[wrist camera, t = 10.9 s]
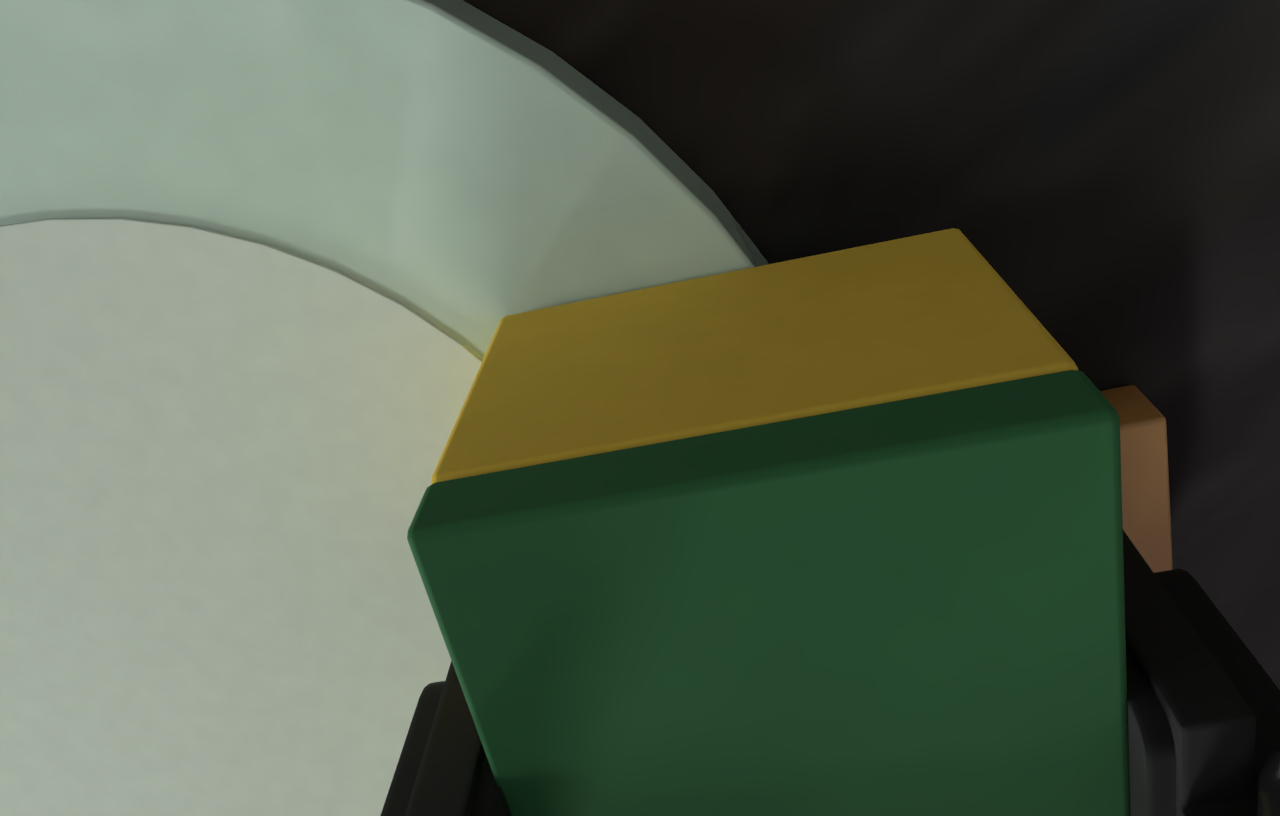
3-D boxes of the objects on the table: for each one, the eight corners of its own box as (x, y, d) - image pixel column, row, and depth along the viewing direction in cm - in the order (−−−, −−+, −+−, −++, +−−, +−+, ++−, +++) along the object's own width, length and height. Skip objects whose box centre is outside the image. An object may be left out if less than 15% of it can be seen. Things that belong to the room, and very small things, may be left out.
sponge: (499, 314, 12) (400, 534, 7) (959, 223, 11) (1124, 411, 7) (650, 835, 15) (639, 1183, 11) (1011, 788, 14) (1142, 1139, 10)
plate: (-758, 109, 12) (-904, 129, 11) (749, -292, 10) (756, -315, 9) (-30, 1064, 20) (-73, 1134, 19) (933, 958, 18) (950, 1031, 16)
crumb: (891, 430, 13) (907, 469, 12) (1134, 382, 13) (1168, 417, 12) (922, 618, 15) (938, 664, 14) (1146, 579, 14) (1177, 624, 13)
